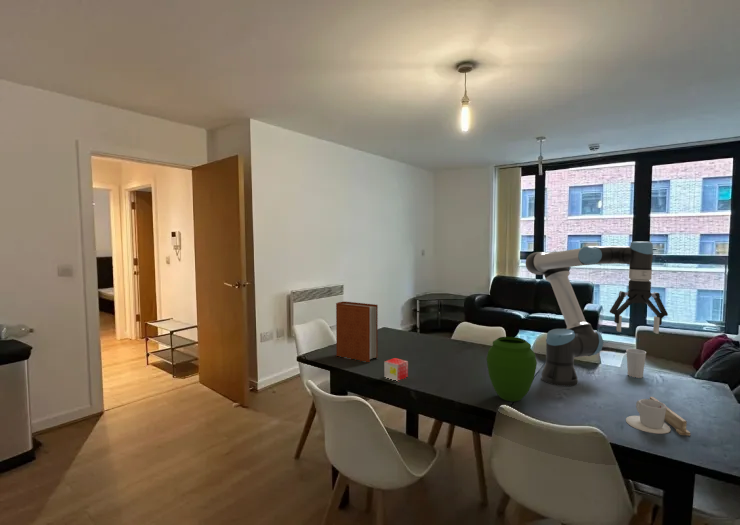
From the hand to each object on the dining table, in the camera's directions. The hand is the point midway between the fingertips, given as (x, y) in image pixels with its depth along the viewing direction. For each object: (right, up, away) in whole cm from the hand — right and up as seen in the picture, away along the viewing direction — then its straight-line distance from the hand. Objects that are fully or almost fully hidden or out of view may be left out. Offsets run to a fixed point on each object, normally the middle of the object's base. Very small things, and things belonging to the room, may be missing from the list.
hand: (637, 332), depth 163 cm
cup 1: (+19, -26, +30) cm, 44 cm away
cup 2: (-10, -29, -21) cm, 37 cm away
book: (-116, -25, +59) cm, 133 cm away
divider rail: (-1, -29, -17) cm, 34 cm away
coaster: (-10, -29, -21) cm, 37 cm away
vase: (-50, -28, +3) cm, 58 cm away
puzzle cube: (-96, -27, +27) cm, 103 cm away
